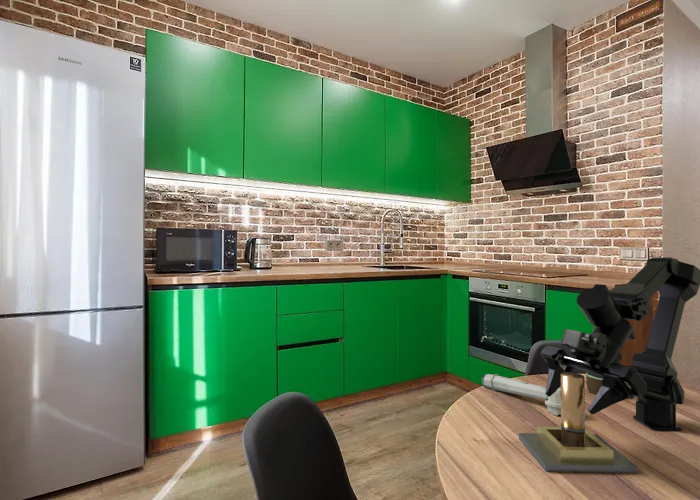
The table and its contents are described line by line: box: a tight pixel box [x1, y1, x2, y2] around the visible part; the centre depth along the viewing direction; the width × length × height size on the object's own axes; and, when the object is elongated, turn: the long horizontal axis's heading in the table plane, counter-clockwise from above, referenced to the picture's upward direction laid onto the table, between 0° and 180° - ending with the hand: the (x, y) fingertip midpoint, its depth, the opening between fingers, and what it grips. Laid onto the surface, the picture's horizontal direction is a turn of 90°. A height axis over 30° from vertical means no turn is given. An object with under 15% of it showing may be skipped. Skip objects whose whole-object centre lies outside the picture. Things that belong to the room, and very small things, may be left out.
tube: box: [560, 371, 586, 447], centre depth 74 cm, size 4×4×14 cm
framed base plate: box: [518, 426, 639, 474], centre depth 74 cm, size 16×12×3 cm
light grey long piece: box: [481, 373, 561, 417], centre depth 101 cm, size 5×7×25 cm
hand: (567, 403), depth 73 cm, fingers open, 9 cm apart
